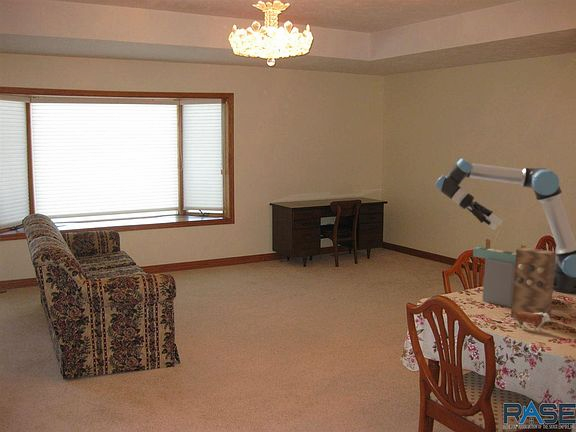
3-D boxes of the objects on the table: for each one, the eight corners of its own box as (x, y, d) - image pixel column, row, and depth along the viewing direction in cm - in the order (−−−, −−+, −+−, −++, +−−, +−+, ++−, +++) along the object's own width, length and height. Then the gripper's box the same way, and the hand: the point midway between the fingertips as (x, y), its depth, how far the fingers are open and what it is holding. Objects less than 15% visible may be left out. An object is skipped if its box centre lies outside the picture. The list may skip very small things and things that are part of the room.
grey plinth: (516, 303, 288) (519, 261, 285) (509, 306, 282) (512, 264, 279) (489, 297, 297) (492, 257, 294) (482, 301, 291) (485, 259, 288)
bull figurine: (548, 334, 245) (550, 315, 244) (513, 328, 252) (515, 309, 251) (550, 331, 249) (552, 312, 248) (516, 325, 256) (517, 306, 255)
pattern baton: (526, 263, 281) (527, 254, 280) (522, 265, 278) (523, 255, 277) (476, 255, 297) (477, 246, 296) (472, 256, 294) (473, 247, 293)
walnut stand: (549, 321, 263) (556, 252, 258) (542, 325, 257) (549, 254, 252) (517, 313, 272) (522, 247, 268) (510, 317, 266) (515, 249, 262)
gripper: (464, 201, 318) (498, 227, 312) (452, 208, 297) (489, 236, 291) (473, 190, 315) (507, 216, 309) (462, 195, 294) (499, 224, 288)
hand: (498, 225), depth 300 cm, fingers open, 13 cm apart
